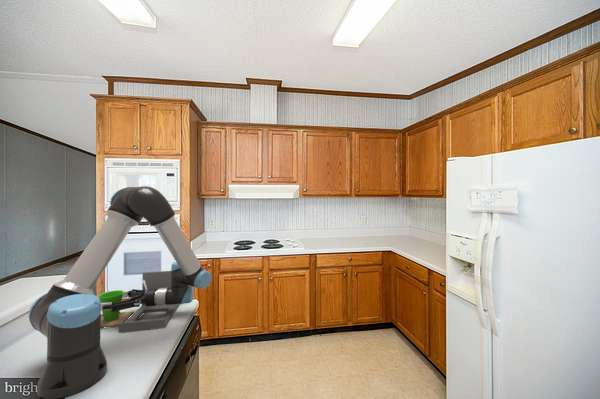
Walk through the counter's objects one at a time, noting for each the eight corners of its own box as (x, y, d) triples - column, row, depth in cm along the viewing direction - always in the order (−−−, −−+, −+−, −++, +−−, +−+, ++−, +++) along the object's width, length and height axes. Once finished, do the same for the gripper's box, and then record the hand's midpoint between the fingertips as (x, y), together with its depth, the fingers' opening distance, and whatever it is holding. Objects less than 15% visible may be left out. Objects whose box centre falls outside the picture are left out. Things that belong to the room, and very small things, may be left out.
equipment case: (179, 304, 128) (180, 270, 129) (164, 328, 104) (165, 285, 104) (143, 307, 125) (143, 272, 125) (118, 332, 100) (119, 288, 100)
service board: (133, 313, 118) (134, 311, 118) (120, 326, 105) (120, 324, 105) (102, 316, 115) (102, 313, 115) (84, 330, 102) (84, 327, 102)
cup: (113, 323, 105) (113, 297, 105) (92, 323, 106) (92, 297, 106) (128, 314, 114) (128, 290, 114) (109, 314, 115) (109, 290, 115)
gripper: (146, 317, 102) (86, 322, 97) (165, 295, 126) (117, 299, 122) (146, 298, 102) (86, 303, 97) (165, 280, 126) (117, 283, 122)
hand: (103, 301), depth 109 cm, fingers open, 13 cm apart
